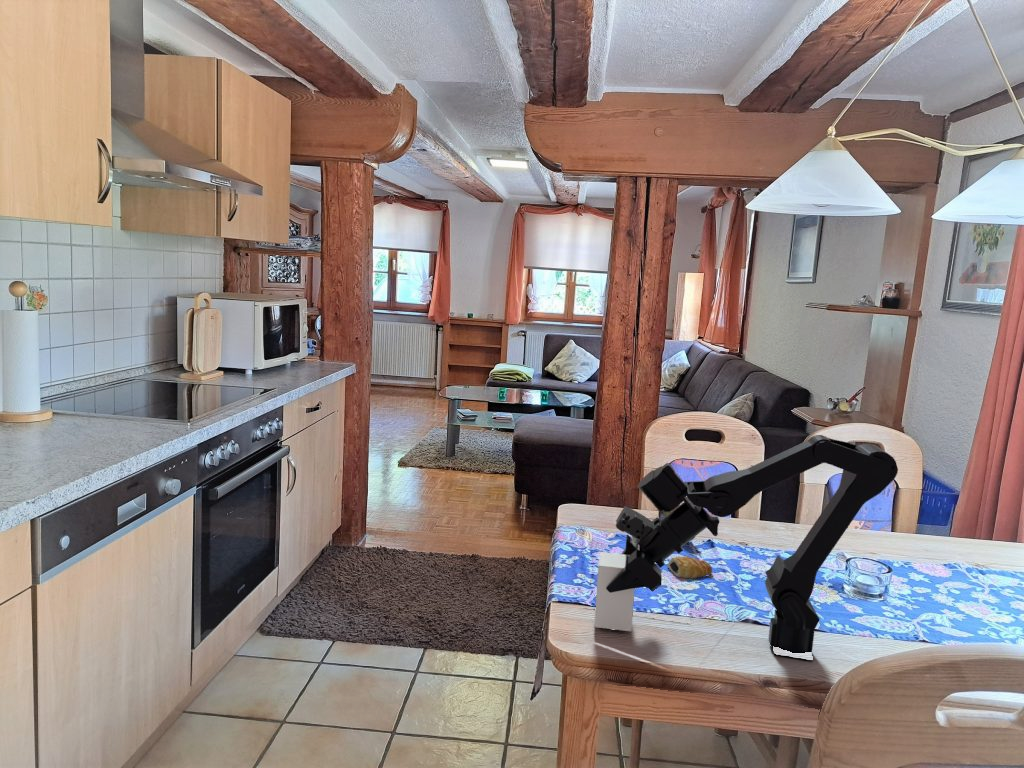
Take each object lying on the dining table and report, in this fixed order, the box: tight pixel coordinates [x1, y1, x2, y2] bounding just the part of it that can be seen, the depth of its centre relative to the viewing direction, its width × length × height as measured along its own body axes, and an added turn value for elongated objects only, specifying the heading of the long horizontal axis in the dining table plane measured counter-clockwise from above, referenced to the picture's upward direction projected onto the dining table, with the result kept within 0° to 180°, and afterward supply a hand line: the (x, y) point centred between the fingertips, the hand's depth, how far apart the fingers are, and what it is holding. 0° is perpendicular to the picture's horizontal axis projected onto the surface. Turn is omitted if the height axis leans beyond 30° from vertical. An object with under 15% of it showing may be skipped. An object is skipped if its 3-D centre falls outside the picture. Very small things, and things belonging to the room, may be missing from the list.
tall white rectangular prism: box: [593, 551, 635, 632], centre depth 130 cm, size 6×6×12 cm
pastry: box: [666, 555, 713, 579], centre depth 157 cm, size 9×7×4 cm
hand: (608, 582), depth 130 cm, fingers closed on tall white rectangular prism, 6 cm apart
